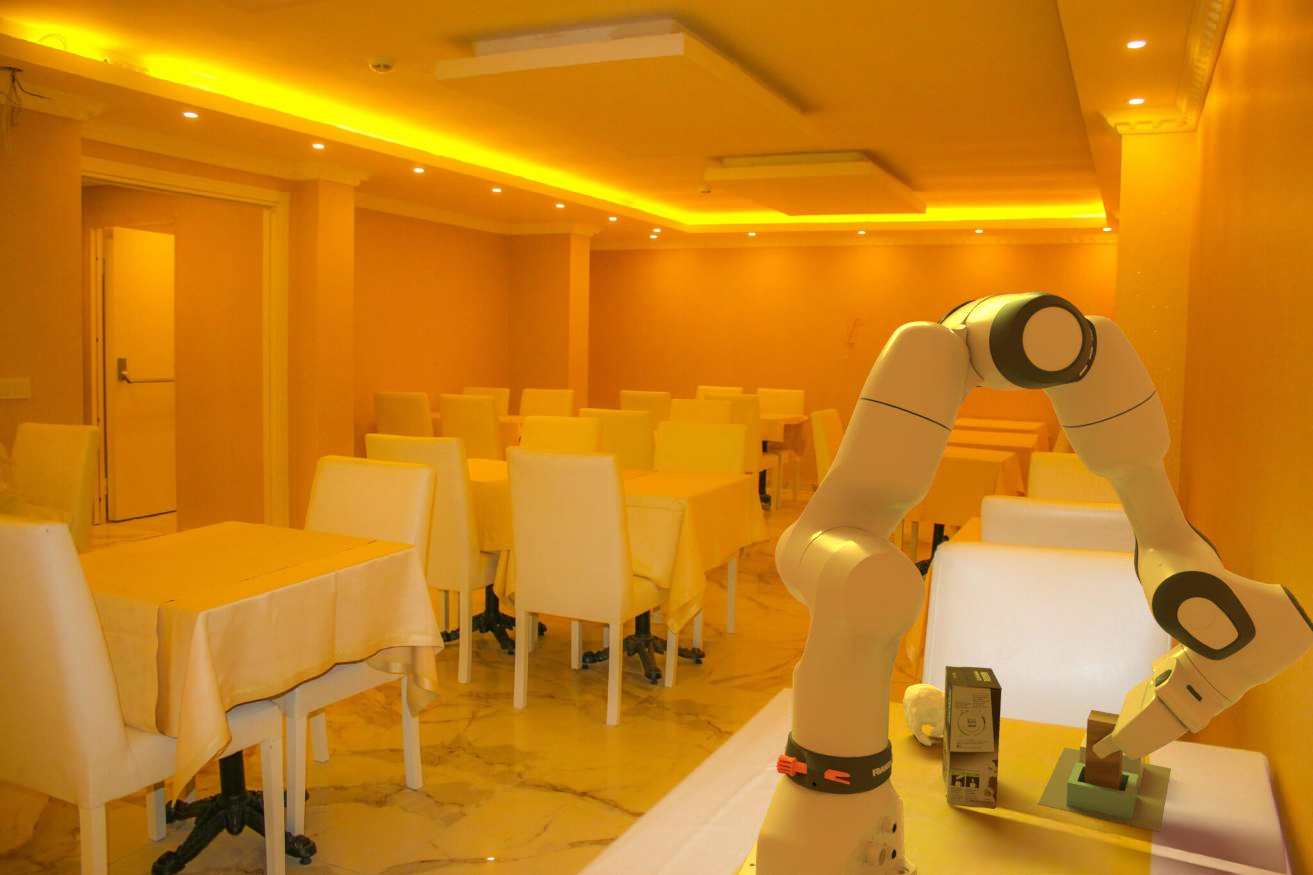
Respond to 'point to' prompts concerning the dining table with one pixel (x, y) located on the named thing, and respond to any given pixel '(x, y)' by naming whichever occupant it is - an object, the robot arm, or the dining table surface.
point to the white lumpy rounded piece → (924, 710)
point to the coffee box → (971, 735)
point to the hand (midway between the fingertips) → (1099, 744)
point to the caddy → (1109, 791)
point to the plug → (1110, 767)
